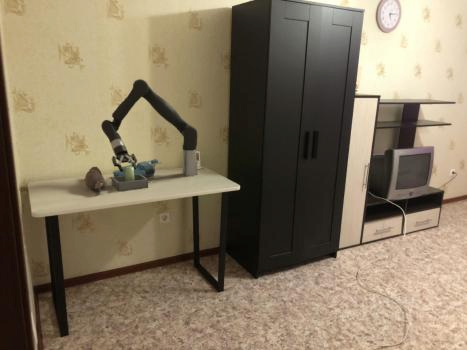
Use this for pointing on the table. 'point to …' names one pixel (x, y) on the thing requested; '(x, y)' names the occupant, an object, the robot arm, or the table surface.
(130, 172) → the pale green rounded knob
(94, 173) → the cassava root
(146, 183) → the bin
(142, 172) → the toy
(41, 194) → the table surface
